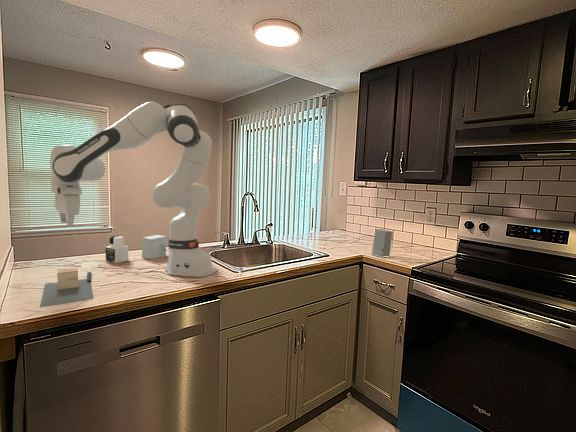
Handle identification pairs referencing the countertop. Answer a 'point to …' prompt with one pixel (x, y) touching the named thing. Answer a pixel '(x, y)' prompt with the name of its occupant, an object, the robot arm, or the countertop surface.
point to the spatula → (87, 265)
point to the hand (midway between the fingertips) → (66, 224)
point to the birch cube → (67, 277)
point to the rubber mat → (66, 293)
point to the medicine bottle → (117, 250)
